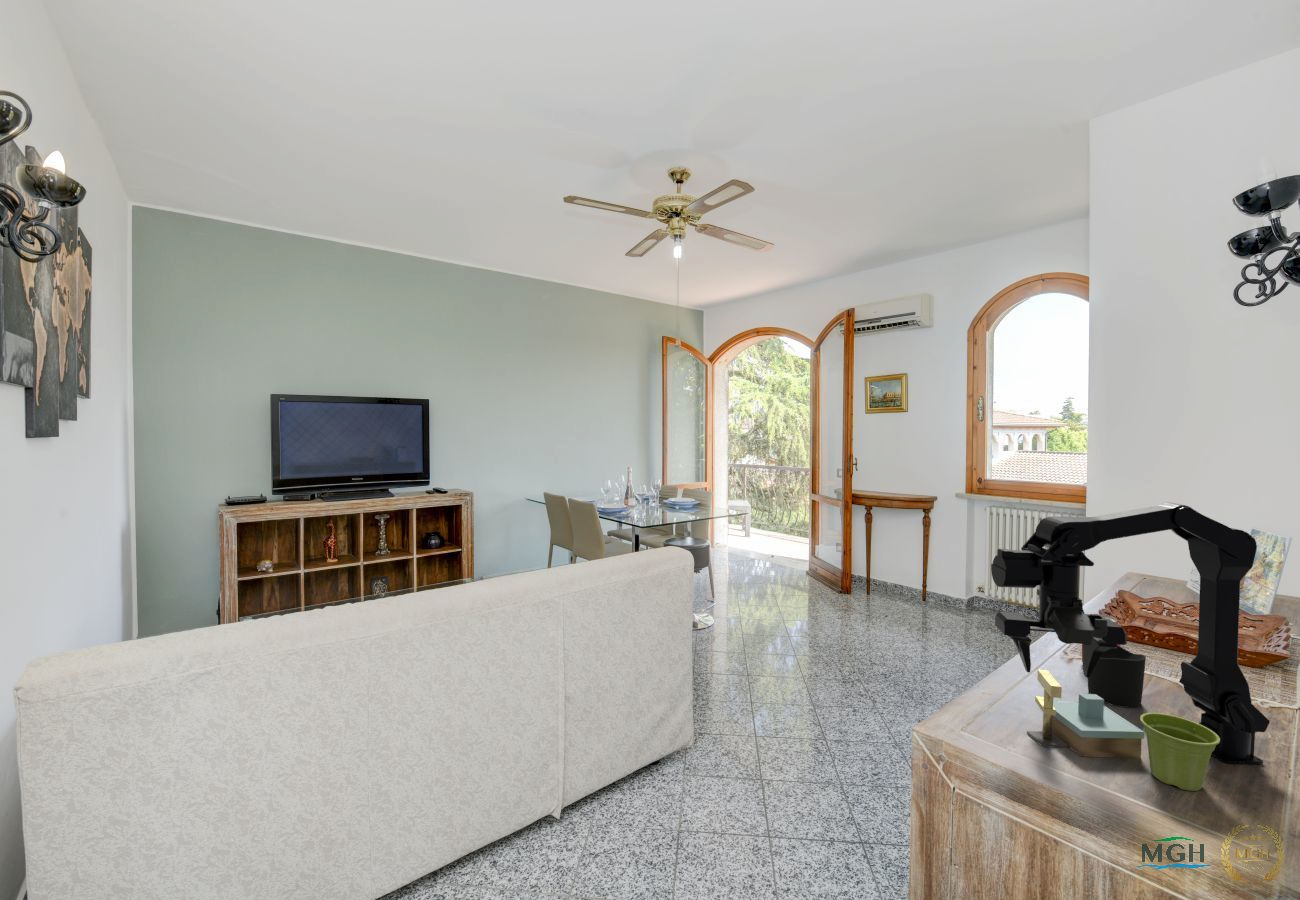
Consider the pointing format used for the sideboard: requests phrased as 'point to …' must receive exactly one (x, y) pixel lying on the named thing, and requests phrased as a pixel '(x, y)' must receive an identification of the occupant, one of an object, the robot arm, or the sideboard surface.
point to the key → (1047, 700)
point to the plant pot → (1178, 749)
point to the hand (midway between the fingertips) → (1056, 674)
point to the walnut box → (1088, 743)
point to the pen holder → (1118, 677)
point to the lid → (1094, 719)
